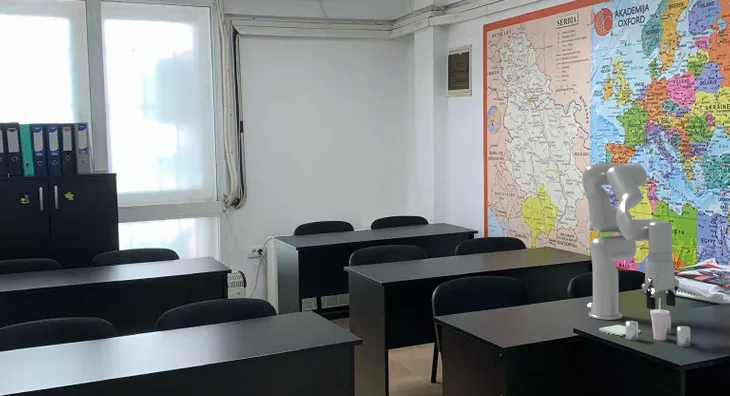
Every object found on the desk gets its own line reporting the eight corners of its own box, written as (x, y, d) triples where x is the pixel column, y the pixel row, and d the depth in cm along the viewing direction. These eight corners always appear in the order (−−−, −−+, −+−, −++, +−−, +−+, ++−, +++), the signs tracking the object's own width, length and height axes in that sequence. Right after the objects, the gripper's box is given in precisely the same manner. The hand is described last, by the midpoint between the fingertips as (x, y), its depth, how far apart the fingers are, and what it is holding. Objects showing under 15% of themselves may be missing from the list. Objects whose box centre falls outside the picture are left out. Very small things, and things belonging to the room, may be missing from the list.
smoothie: (669, 337, 246) (669, 297, 246) (670, 342, 240) (670, 301, 239) (649, 336, 248) (649, 296, 248) (650, 340, 242) (650, 300, 242)
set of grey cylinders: (623, 338, 246) (623, 321, 245) (663, 331, 255) (663, 314, 255) (667, 351, 229) (667, 332, 229) (709, 342, 239) (709, 324, 239)
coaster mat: (598, 330, 257) (598, 328, 257) (618, 327, 262) (618, 324, 262) (620, 336, 248) (620, 334, 248) (640, 333, 253) (640, 330, 253)
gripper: (668, 254, 250) (669, 302, 250) (633, 258, 242) (634, 308, 242) (687, 256, 243) (687, 306, 244) (651, 260, 235) (652, 311, 236)
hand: (661, 307), depth 243 cm, fingers open, 9 cm apart
